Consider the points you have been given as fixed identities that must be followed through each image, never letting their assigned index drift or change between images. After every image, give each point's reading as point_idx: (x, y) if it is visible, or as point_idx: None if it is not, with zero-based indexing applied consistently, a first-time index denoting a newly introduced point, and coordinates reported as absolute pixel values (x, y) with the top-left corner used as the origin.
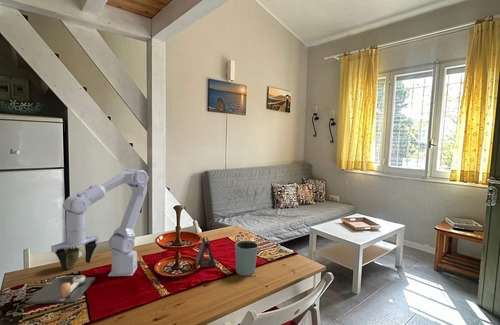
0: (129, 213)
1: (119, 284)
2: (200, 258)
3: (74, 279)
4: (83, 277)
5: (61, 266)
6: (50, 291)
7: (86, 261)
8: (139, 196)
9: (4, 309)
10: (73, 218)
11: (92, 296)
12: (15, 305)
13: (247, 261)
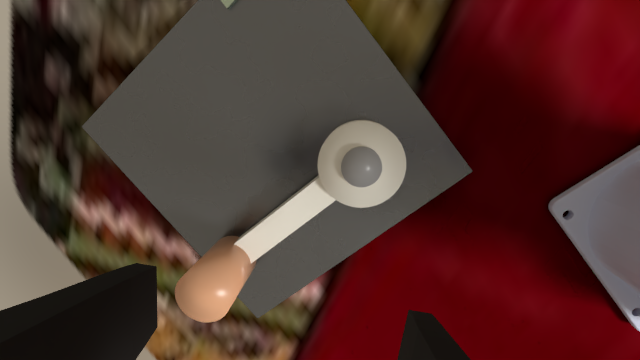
0: None
1: (504, 344)
2: None
3: (325, 165)
4: (383, 189)
5: (108, 276)
6: (198, 119)
7: (405, 341)
8: None
9: (10, 85)
10: None
11: (339, 328)
12: (52, 88)
13: None
